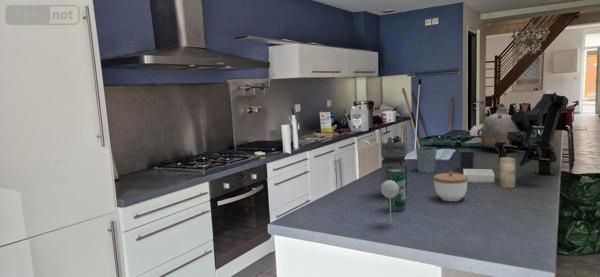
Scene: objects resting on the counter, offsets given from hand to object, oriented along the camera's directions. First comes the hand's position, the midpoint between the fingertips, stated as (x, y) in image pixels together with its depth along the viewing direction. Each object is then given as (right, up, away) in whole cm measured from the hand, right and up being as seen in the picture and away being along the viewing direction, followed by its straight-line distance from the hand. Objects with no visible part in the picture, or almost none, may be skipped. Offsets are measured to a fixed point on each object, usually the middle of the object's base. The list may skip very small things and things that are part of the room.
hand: (509, 164), depth 179 cm
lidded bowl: (-31, -13, -14) cm, 36 cm away
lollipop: (-60, -18, -39) cm, 74 cm away
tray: (-8, -8, +14) cm, 18 cm away
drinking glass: (-25, -6, +37) cm, 45 cm away
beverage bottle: (-50, -13, -4) cm, 52 cm away
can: (-54, -16, -23) cm, 61 cm away
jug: (+35, +3, +82) cm, 89 cm away
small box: (-5, -5, +35) cm, 36 cm away
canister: (-1, -9, 0) cm, 9 cm away
